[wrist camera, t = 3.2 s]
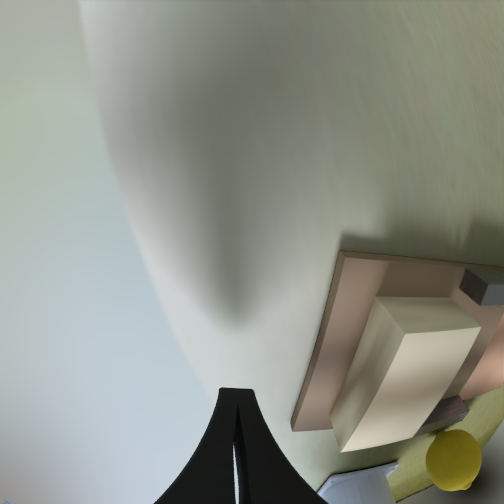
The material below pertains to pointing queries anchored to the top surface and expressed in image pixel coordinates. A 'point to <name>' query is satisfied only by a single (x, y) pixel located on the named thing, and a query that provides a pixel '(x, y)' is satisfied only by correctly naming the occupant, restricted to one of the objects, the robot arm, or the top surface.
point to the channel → (484, 294)
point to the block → (400, 369)
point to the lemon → (453, 460)
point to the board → (356, 316)
